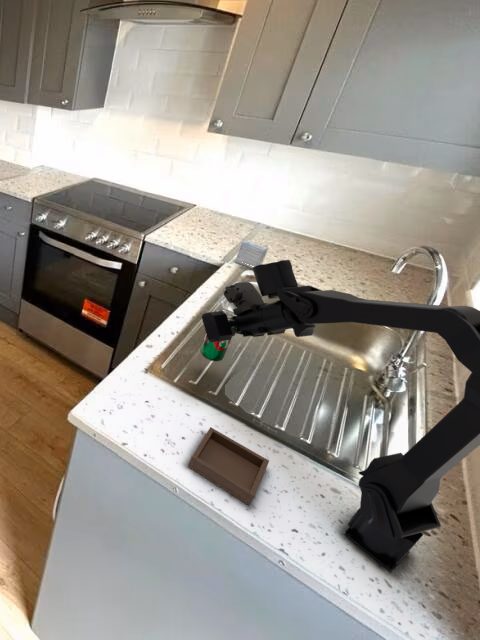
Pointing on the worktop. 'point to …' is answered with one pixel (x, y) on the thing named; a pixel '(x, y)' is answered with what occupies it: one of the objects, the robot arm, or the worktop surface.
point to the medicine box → (251, 254)
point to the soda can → (216, 343)
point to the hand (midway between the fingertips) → (215, 329)
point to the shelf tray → (229, 465)
